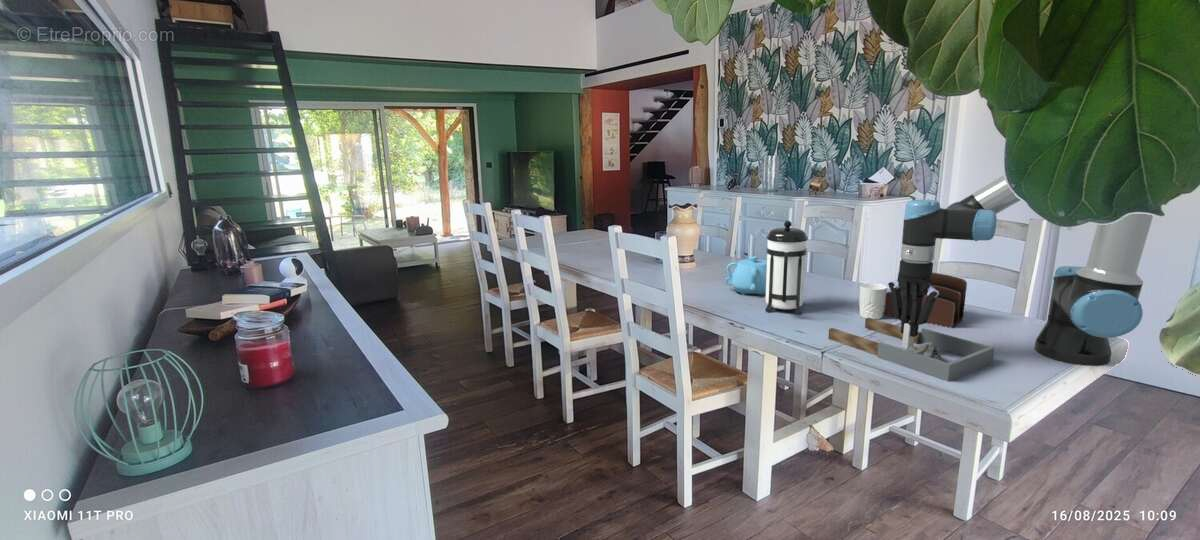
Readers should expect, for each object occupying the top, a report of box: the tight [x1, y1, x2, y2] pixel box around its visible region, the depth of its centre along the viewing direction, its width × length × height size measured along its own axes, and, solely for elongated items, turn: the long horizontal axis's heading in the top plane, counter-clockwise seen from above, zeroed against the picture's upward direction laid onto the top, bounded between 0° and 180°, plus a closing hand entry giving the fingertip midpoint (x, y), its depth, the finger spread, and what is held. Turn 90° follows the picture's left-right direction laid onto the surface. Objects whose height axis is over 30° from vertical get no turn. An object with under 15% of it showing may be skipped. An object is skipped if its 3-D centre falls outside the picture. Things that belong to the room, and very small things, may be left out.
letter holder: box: [883, 271, 968, 329], centre depth 176 cm, size 10×20×14 cm, turn 42°
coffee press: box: [765, 220, 809, 316], centre depth 185 cm, size 17×16×30 cm
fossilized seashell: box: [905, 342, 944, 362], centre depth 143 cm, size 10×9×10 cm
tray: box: [876, 328, 995, 382], centre depth 144 cm, size 18×20×4 cm
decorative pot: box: [725, 255, 767, 296], centre depth 210 cm, size 16×16×14 cm
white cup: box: [858, 282, 888, 320], centre depth 179 cm, size 8×8×10 cm
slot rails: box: [828, 318, 921, 356], centre depth 158 cm, size 16×18×3 cm
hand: (907, 346), depth 150 cm, fingers closed
